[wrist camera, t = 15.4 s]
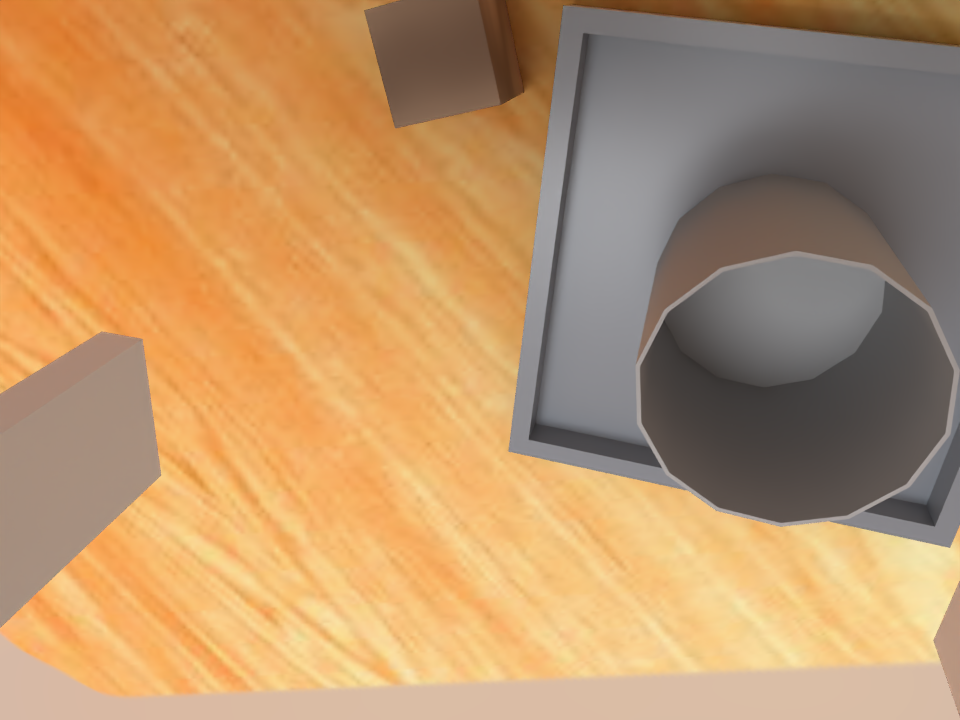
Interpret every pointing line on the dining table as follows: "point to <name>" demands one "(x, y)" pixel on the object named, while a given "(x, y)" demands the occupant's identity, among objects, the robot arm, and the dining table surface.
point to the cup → (790, 357)
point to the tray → (699, 172)
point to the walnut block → (444, 57)
